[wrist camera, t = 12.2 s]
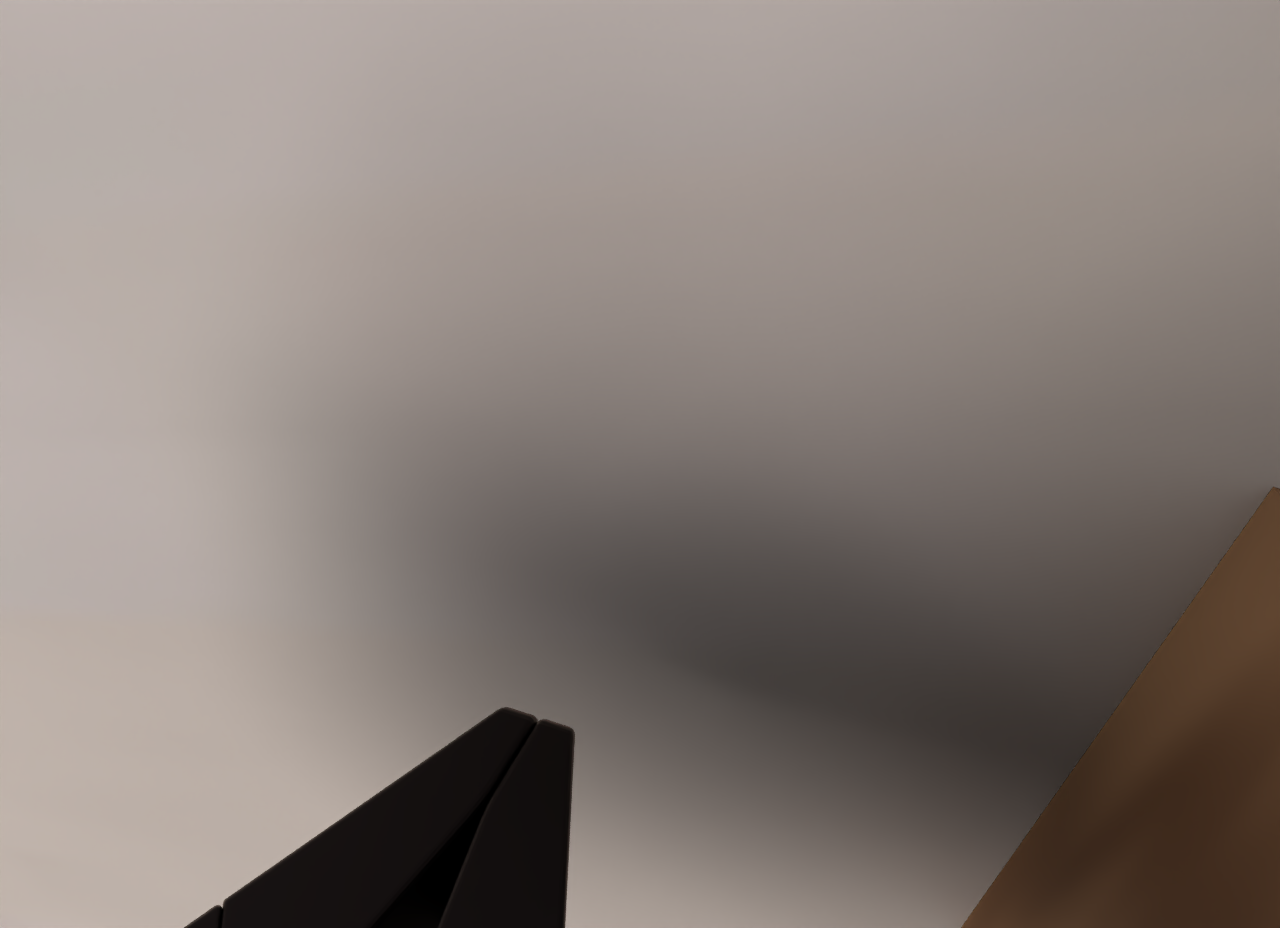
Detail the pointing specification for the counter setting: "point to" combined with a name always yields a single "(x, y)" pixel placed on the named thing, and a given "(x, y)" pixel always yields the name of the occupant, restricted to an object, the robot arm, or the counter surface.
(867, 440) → the counter surface
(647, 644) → the counter surface
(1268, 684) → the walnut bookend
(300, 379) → the counter surface
